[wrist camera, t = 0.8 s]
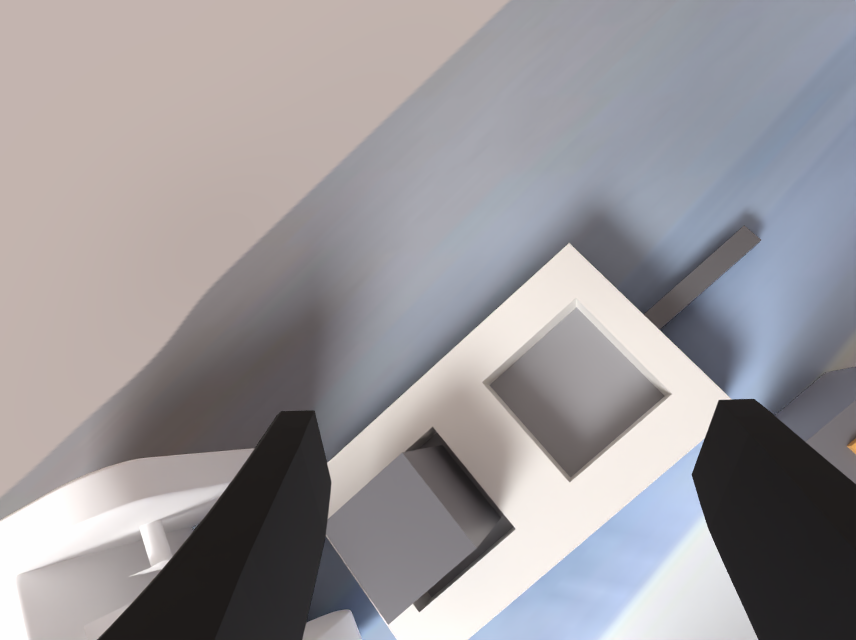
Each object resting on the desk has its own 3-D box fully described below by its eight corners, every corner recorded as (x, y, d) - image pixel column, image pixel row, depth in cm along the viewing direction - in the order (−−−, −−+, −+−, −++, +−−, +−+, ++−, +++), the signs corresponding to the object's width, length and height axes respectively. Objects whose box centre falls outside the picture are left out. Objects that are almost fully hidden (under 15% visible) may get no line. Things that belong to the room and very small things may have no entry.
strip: (668, 173, 26) (699, 87, 19) (833, 312, 23) (936, 269, 16) (325, 484, 27) (243, 505, 21) (441, 648, 25) (390, 732, 18)
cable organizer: (303, 433, 28) (125, 441, 17) (387, 645, 25) (239, 818, 14) (75, 554, 31) (-210, 630, 20) (129, 762, 28) (-169, 988, 17)
